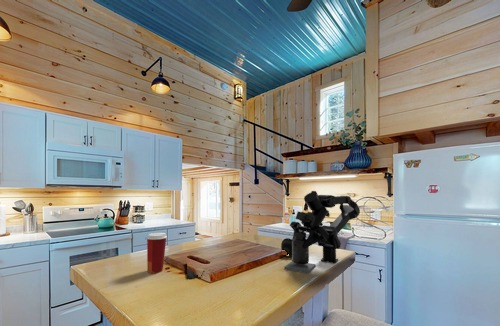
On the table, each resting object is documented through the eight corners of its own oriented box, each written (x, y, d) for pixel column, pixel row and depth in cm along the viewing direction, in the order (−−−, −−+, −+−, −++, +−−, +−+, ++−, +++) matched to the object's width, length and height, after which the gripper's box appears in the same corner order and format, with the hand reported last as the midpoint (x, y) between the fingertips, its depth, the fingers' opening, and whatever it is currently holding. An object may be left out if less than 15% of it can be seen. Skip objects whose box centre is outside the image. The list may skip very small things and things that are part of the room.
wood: (208, 279, 89) (208, 270, 89) (187, 281, 87) (187, 272, 87) (202, 262, 110) (202, 255, 110) (184, 263, 108) (185, 255, 108)
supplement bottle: (310, 264, 98) (310, 234, 99) (293, 264, 98) (293, 234, 99) (307, 259, 105) (306, 231, 106) (291, 259, 105) (290, 230, 106)
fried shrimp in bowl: (273, 246, 119) (288, 229, 134) (284, 267, 118) (298, 248, 133) (288, 241, 114) (302, 224, 128) (300, 263, 113) (312, 243, 128)
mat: (293, 262, 108) (292, 260, 108) (315, 266, 103) (315, 264, 103) (284, 269, 100) (284, 266, 100) (308, 273, 94) (308, 270, 95)
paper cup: (168, 268, 99) (170, 232, 101) (160, 274, 92) (161, 236, 93) (150, 267, 100) (152, 232, 101) (140, 273, 92) (142, 235, 94)
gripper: (292, 203, 114) (273, 229, 107) (322, 206, 98) (302, 237, 91) (305, 219, 117) (287, 246, 111) (337, 225, 101) (318, 256, 94)
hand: (297, 246), depth 102 cm, fingers closed on supplement bottle, 7 cm apart
